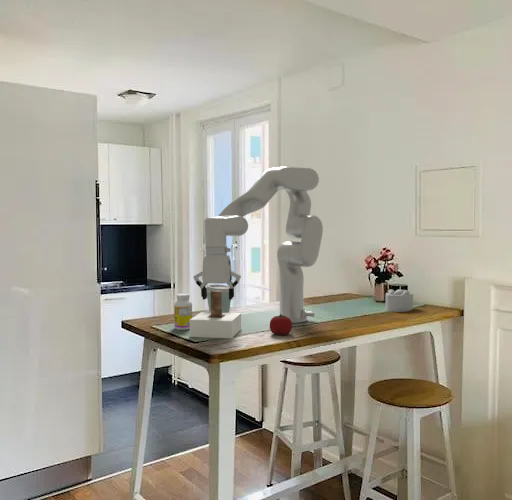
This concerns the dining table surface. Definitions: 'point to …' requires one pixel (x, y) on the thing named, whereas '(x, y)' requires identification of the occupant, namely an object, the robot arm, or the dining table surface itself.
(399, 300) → the lumpy-topped squat cylinder
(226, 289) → the disposable coffee cup
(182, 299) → the supplement bottle
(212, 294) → the brown wooden block
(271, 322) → the tomato
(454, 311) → the dining table surface
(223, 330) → the block
